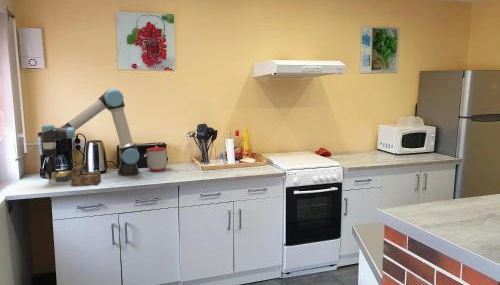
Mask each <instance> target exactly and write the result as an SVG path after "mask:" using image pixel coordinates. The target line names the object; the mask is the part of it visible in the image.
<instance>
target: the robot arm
mask: <svg viewBox="0 0 500 285" xmlns="http://www.w3.org/2000/svg"><path fill="white" fill-rule="evenodd" d="M123 95H124V94H123V92H121V91H120V90H119V89H116V88H110V89H108V90H107V89H106V91H105V92H104V93H103V94H101V96H99V97H98V98H97V101H95V102H94V103H92V104H91V105H89V106H88V107H87V108H85V109H84V110H83V111H81V112H80V113H78V114H77V115H76V116H74V117H73V118H72V119H71V120H69V121H68V122H66V123H65V124H63V125H61V127H55V125H54V124H44V125H42V126H41V139H42V141H41V142H42V148H43V149H42V154H43V155H45V156H46V157H45V159H44V162H45V170H46V171H45V174H46V173H47V174H48V178H47V179H48V181H47V182H48V185H51V184H52V185H53V184H54V183H57V182H56V178H53V174H52V172H57V164H56V162H57V161H56V159H57V158H56V154H57V148H56V145H57V143H56V140H61V139H69V140H70V139H74V138H75V137H76V134H75V133H76V132H77V130H78V129H80V128H81V127H82V126H84V125H85V124H86V123H88V122H89V121H91V120H92V119H93V118H95V117H96V116H97V115H98V114H101V112H103V111H104V110H107V111H109V112H110V113H111V116H112V121H113V123H114V126H115V131H116V134H117V137H118V141H119V145H118V149H119V150H118V151H119V153H118V154H119V166H118V170H117V175H119V176H123V177H124V176H136V175H138V174H139V173H140V170H139V168H138V165H137V162H138V161H139V159H140V152H139V150H138V148H137V144H136V142H134V141H133V138H132V134H131V132H130V127H129V124H128V121H127V117H126V113H125V107H126V106H125V101H124V96H123Z"/></svg>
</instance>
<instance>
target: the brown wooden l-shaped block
mask: <svg viewBox="0 0 500 285" xmlns="http://www.w3.org/2000/svg"><path fill="white" fill-rule="evenodd" d="M75 165H76V164H75ZM75 165H74V166H75ZM74 166H73V167H74ZM73 167H71V168H72V169H71V171H72V176H71V180H70V185H71V187H72V186H73V187H90V186H89V185H95V186H98V185H99V184H100V183H101V180H102V178H101V171H93V172H91V171H90V172H88V171H86V172H84V165H83V164H77V165H76V166H75V167H74V168H73ZM99 182H100V183H99Z"/></svg>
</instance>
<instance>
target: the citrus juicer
mask: <svg viewBox="0 0 500 285" xmlns="http://www.w3.org/2000/svg"><path fill="white" fill-rule="evenodd" d="M143 157H144V158H145V157H146V163H147V164H146V165H147V167H148V169H149V172H153V173H155V172H164V171H165V169H166V166H167V159H168V158H167V148H165V147H160V146H158V145H155V146H154V147H150V148H146V153H145V154H144V155H143Z"/></svg>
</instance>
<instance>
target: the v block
mask: <svg viewBox="0 0 500 285" xmlns="http://www.w3.org/2000/svg"><path fill="white" fill-rule="evenodd" d="M61 171H72V169H71V170H60V169H59V170H58V172H61ZM66 182H71V177H60V178H56V182H55V183H66Z"/></svg>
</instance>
